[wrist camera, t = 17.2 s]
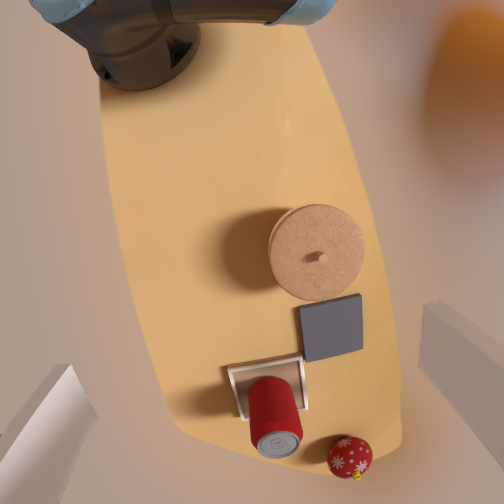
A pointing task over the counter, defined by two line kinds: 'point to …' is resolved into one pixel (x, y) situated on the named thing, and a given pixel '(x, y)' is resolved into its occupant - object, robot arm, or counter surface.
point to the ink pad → (332, 327)
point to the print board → (277, 366)
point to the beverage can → (274, 418)
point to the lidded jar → (315, 251)
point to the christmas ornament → (349, 458)
